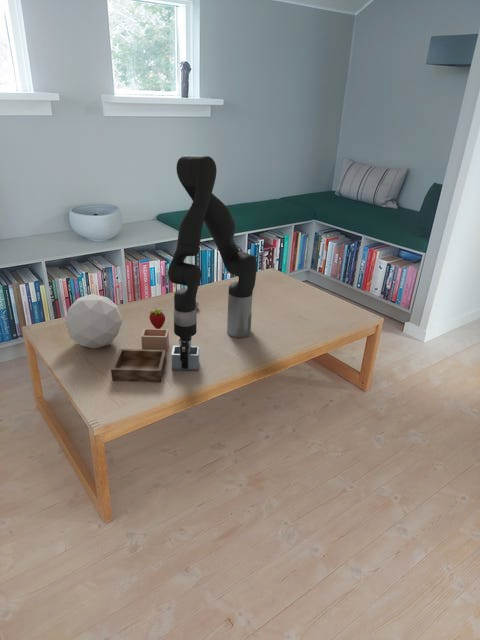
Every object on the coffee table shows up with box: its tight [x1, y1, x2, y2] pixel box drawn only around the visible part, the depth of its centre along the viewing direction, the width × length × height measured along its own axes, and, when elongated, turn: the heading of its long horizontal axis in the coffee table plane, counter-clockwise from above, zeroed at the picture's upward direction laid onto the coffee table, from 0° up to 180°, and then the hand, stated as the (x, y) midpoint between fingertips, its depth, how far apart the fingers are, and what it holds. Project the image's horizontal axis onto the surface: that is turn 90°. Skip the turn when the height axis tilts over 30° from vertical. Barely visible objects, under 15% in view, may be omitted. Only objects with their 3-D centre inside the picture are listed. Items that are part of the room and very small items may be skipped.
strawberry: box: [148, 308, 166, 329], centre depth 182 cm, size 6×8×10 cm
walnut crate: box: [110, 348, 167, 383], centre depth 157 cm, size 16×13×4 cm
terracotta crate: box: [140, 328, 170, 352], centre depth 171 cm, size 9×6×6 cm, turn 91°
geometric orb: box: [64, 293, 123, 349], centre depth 168 cm, size 19×20×20 cm
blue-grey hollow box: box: [171, 345, 200, 371], centre depth 161 cm, size 9×6×6 cm, turn 91°
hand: (185, 362), depth 162 cm, fingers closed on blue-grey hollow box, 6 cm apart
